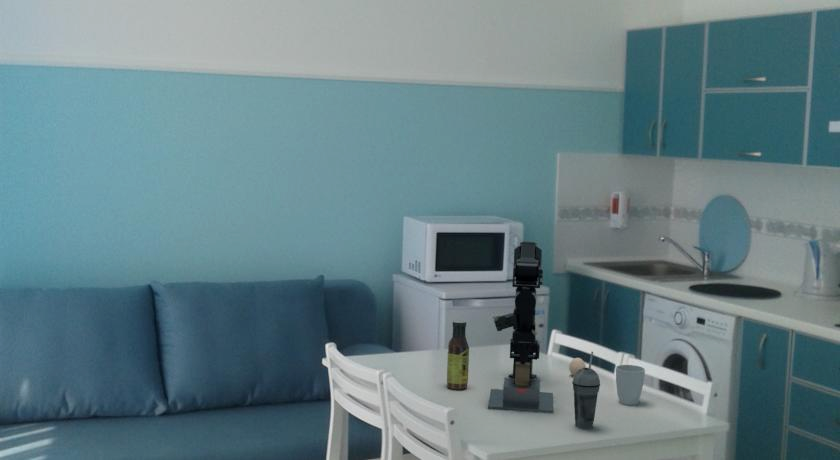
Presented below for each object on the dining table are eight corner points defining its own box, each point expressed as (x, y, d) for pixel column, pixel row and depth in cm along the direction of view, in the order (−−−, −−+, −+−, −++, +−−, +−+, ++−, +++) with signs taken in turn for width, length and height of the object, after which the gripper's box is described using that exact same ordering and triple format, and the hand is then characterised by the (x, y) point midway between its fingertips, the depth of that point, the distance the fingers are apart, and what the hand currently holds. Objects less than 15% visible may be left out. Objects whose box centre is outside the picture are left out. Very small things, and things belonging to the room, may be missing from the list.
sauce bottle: (465, 391, 293) (468, 324, 291) (444, 389, 294) (447, 322, 292) (469, 385, 300) (471, 320, 297) (448, 384, 301) (450, 318, 299)
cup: (644, 400, 290) (646, 366, 288) (641, 408, 282) (643, 373, 281) (616, 397, 292) (618, 363, 291) (612, 404, 285) (614, 369, 283)
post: (514, 396, 286) (515, 361, 285) (528, 397, 286) (530, 362, 284) (513, 400, 282) (515, 365, 281) (528, 401, 282) (530, 366, 280)
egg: (573, 378, 311) (574, 360, 311) (565, 374, 316) (566, 356, 315) (588, 377, 313) (589, 359, 312) (580, 373, 318) (581, 355, 317)
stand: (490, 391, 294) (491, 373, 293) (552, 395, 292) (553, 377, 291) (487, 409, 276) (488, 389, 275) (553, 413, 274) (554, 393, 273)
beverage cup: (567, 422, 267) (570, 348, 264) (594, 422, 267) (598, 348, 265) (573, 430, 259) (577, 354, 257) (601, 430, 260) (605, 355, 258)
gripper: (497, 298, 291) (495, 351, 293) (495, 310, 273) (492, 366, 274) (536, 300, 290) (534, 353, 292) (536, 312, 271) (533, 369, 273)
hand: (522, 360), depth 283 cm, fingers open, 9 cm apart
